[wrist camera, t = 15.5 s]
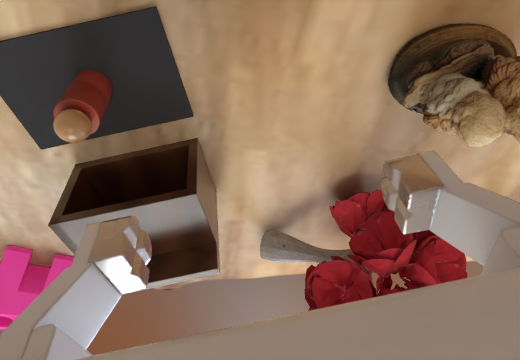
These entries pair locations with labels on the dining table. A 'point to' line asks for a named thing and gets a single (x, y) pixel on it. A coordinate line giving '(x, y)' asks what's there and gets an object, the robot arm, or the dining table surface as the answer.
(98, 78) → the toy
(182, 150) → the open-top box
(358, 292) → the bouquet
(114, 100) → the felt mat
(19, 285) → the bracket
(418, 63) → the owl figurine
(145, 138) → the dining table surface
